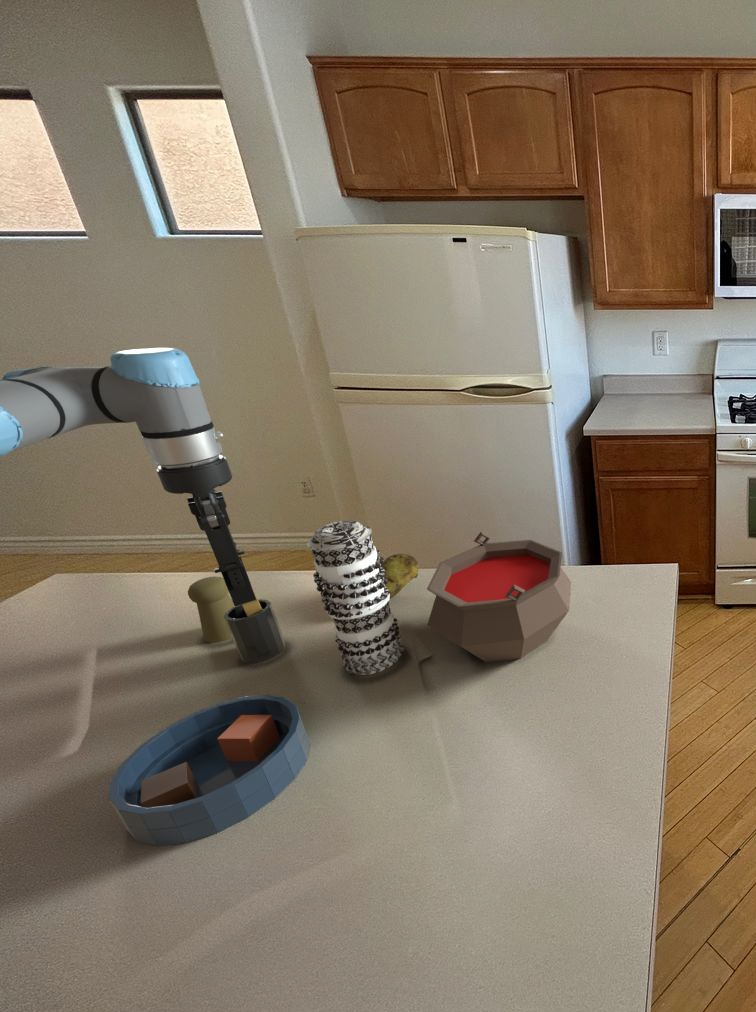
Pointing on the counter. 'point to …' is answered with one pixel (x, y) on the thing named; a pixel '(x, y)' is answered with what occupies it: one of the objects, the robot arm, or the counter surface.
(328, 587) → the decorative candle
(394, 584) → the yellow green pear
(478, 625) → the brown cooking pot
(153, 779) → the walnut block
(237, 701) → the bowl
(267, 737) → the terracotta block
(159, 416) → the robot arm
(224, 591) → the cork
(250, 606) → the stirring stick
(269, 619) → the cup
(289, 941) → the counter surface
